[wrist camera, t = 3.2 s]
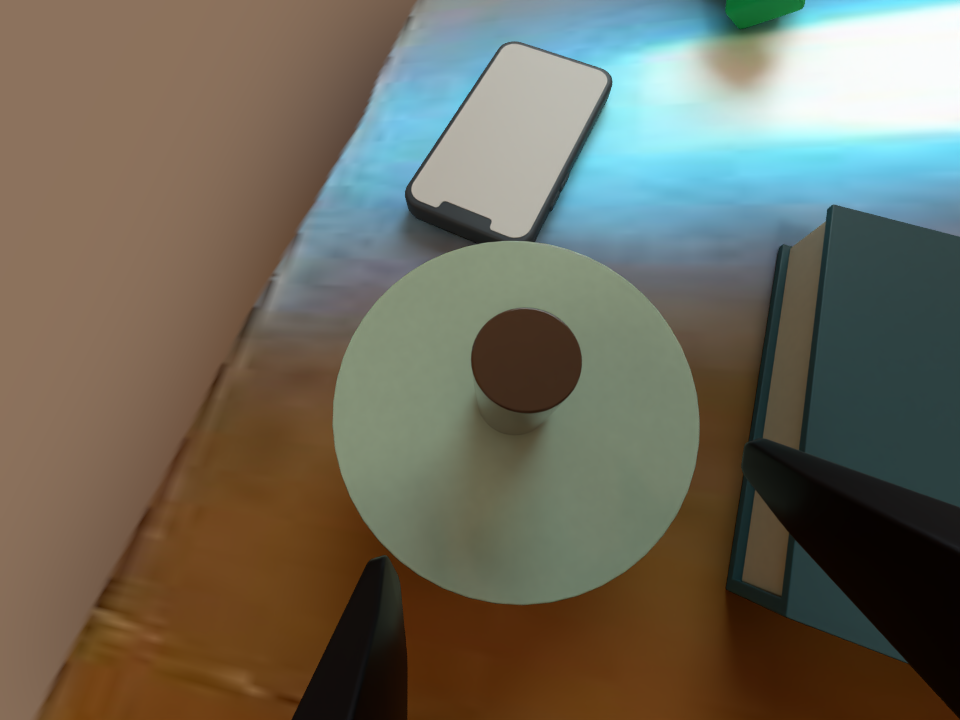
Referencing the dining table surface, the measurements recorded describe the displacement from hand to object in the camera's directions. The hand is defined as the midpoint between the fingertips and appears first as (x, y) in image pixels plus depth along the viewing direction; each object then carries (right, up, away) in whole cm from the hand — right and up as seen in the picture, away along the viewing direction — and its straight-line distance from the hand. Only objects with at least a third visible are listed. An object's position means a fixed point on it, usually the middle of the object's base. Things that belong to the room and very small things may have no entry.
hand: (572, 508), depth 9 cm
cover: (-1, +2, +6) cm, 6 cm away
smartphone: (0, +18, +18) cm, 25 cm away
